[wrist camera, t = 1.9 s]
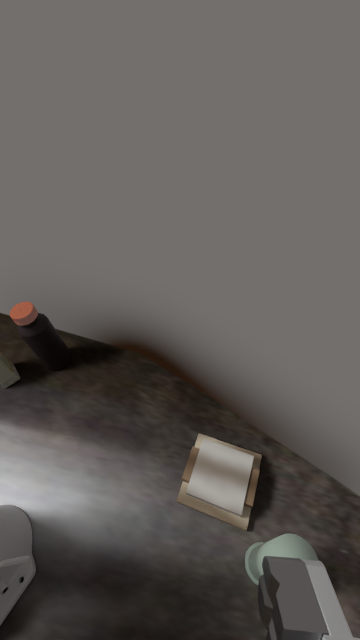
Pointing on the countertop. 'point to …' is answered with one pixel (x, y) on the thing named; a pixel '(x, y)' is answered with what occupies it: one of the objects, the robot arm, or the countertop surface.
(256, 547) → the sage vase
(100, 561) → the countertop surface
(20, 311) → the bottle
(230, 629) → the countertop surface
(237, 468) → the stand
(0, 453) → the countertop surface
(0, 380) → the skincare box
